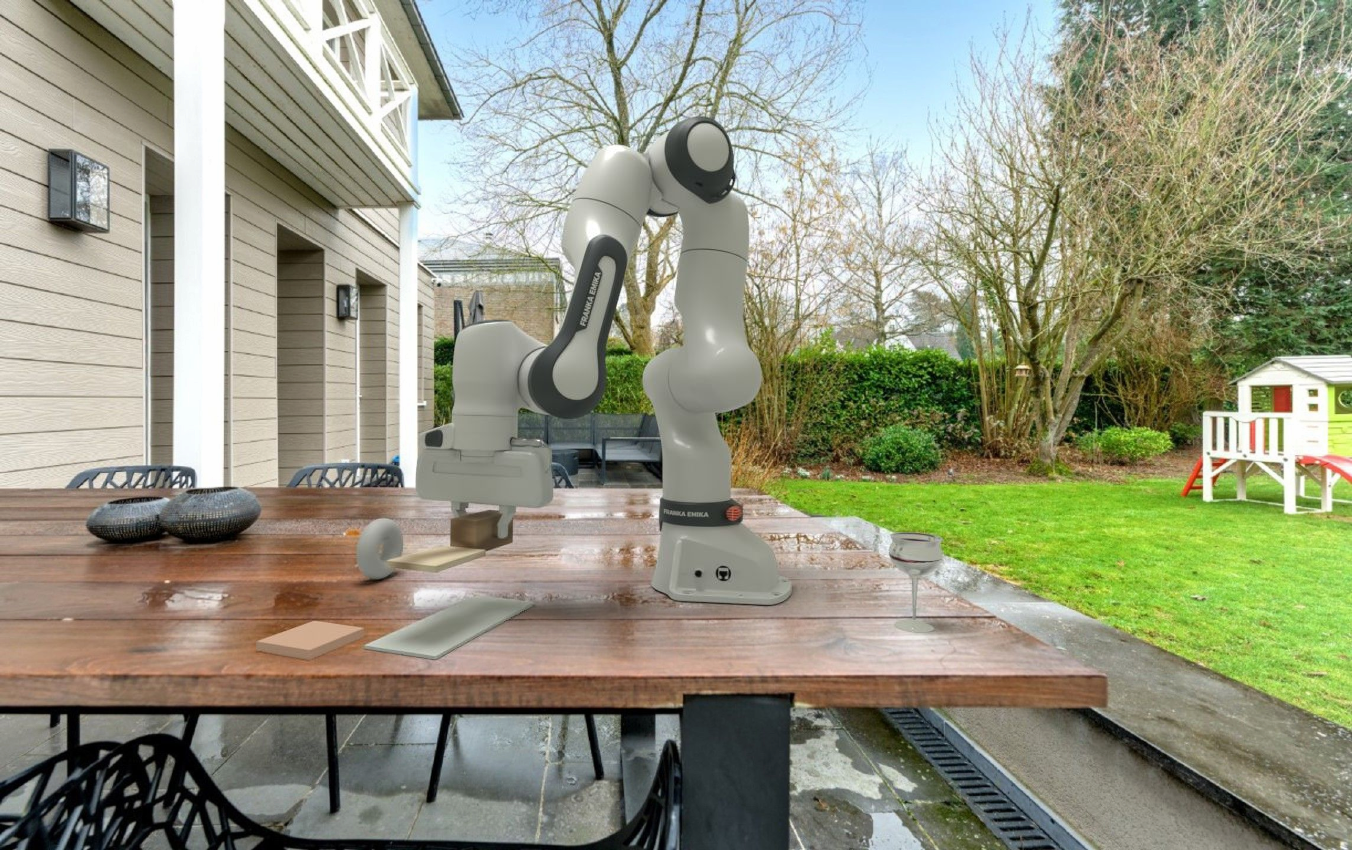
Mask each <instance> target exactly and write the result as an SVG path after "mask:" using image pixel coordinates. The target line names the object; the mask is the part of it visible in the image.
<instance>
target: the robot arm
mask: <svg viewBox="0 0 1352 850" xmlns="http://www.w3.org/2000/svg"><path fill="white" fill-rule="evenodd" d="M734 164H735V155H734V150H733V145H732V142H731V139H730V136H729V134H728V133H727V131H726V130H725V128H724V127H723V126H722V124H721V123H719V122H718V121H717V120H716V119H713V118H711V117H708V116H704V115H699V116H698V115H697V116H691V117H688V118H685V119H683V120H680V121H679V122H677V123H676V124H675V125H673V126H672V127H671V128H670V129H669V130H668V131H666V132H665V133H663V134H662V135H661V136H660V137H658V138H657V139H656V140H655V141H654V142H653V143H652V144H651V145H650V146H649V147H648V148H647V149H646V150H645V151H644V152H643V153H642V152H638V151H637V150H635V149H634V148H632V147H629V146H627V145H623V144H609V145H606V146H603V147H602V148H600V149H599V150H597V152H596V154H595V155H594V157H593V158H592V159H591V160H590V162H589V164H588V166H587V167H586V170H585V171H584V173H583V175H582V177H581V178H580V181H579V182H578V185H577V187H576V189H575V191H574V195H573V197H572V200H571V202H570V204H569V208H568V210H567V214H566V216H565V219H564V224H563V228H562V229H563V230H562V235H561V242H560V246H561V250H562V253H563V255H564V257H565V259H566V260H567V261H568V263H569V264H570V266H572V268H573V269H574V281H573V286H572V289H571V291H570V295H569V299H568V301H567V305H566V309H565V311H564V315H563V318H562V322H561V325H560V329H558V333H557V335H556V336H555V337H554V338H553V340H552V341H550V342H549V344H546V343H544V342H541V341H539V340H537V339H536V338H534V337H533V336H531V335H530V334H527V333H526V332H524V330H522V329H521V328H520V327H518V326H517V325H516V324H515V322H514V321H512V320H509V319H504V318H503V319H500V318H498V319H486V320H480V321H475V322H472V323H471V322H470V324H467V325H466V326H465V327H462V329H461V330H460V331H459V332H458V334H457V335H456V336H457V337H456V339H455V344H454V351H453V359H452V361H453V362H452V387H453V390H454V397H455V398H454V403H453V407H452V410H451V422H450V423H446V424H442V425H440V426H438V427H435V428H432V429H429V430H425V431H424V432H423V431H422V432H421V433H420V434H419V437H418V444H419V446H420V447H421V448H423V449H422V450H421V451H420V452H419V454H418V456H417V460H416V467H415V468H416V469H415V491H416V494H417V495H418V497H419V498H420V499H421V500H424V501H425V500H426V501H428V500H429V501H439V502H441V501H442V502H448V503H449V502H450V510H451V512H452V514H453V516H454V518H456V517H460V516H464V515H468V513H467V511H466V509H468V508H469V504H479V505H489V506H490V505H491V506H498V510H499V513H501V514H502V513H503V514H502V516H501V518H500V520H499V522H498V524H495V525H492V531H493V532H492V537H493V538H505V537H507V535H508V524H509V523H510V521H511V520H512V518H513V519H514V516H515V515H516V513H517V508H526V509H527V508H528V509H529V508H530V509H541V508H544V507H547V506H549V504H551V503H552V501H553V499H554V481H553V472H552V464H553V452H552V448H551V447H550V446H549V444H547V443H546V442H544V440H543V439H540V438H532V439H530V438H523V437H518V431H519V430H518V426H519V424H518V423H519V411H520V409H521V408H522V409H525V410H529V411H531V412H534V413H536V414H542V415H547V416H552V417H555V418H557V419H561V420H562V419H563V420H575V419H580V418H582V417H584V416H586V415H588V414H590V413H591V412H592V411H594V410H595V408H597V406H598V405H599V404H600V402H601V400H602V399H603V397H604V394H605V391H606V389H607V388H606V387H607V380H608V379H607V359H606V353H607V344H608V338H609V335H610V332H611V328H612V326H613V325H612V324H613V321H614V319H615V314H616V309H617V306H618V303H619V299H620V296H621V292H622V288H623V285H624V284H623V283H624V281H625V280H624V279H625V276H626V272H627V270H628V266H629V264H630V261H631V258H632V256H633V253H634V250H635V248H636V245H637V243H638V240H639V238H640V234H641V231H642V228H643V224H644V222H645V218H646V216H649V217H652V218H666V217H667V218H668V217H672V216H674V215H677V214H678V216H679V218H680V221H681V225H682V227H681V228H682V240H681V245H680V253H679V259H678V268H677V275H676V281H675V282H676V283H675V290H674V296H673V297H674V298H673V299H674V300H673V302H674V303H673V304H674V306H675V309H676V310H677V311H678V312H679V314H680V316H681V322H682V326H683V327H682V328H683V345H682V346H675V347H670V348H667V349H665V350H664V351H662V352H659V354H657V355H655V356H653V358H650V360H649V362H647V364H646V365H645V368H644V370H643V373H642V388H643V391H644V393H645V395H646V397H647V398H648V399H649V400H650V402H651V404H652V408H653V411H654V415H655V419H656V423H657V427H658V428H657V429H658V432H659V438H660V442H661V443H660V444H661V451H662V452H661V453H662V496H661V497H660V499H659V508H658V525H659V526H658V527H659V532H660V537H659V538H660V539H659V540H660V541H659V547H658V555H657V561H656V565H655V570H654V573H653V576H652V579H651V583H650V584H651V586H652V588H654V589H655V590H656V591H659V592H661V593H663V594H665V595H668V597H669V598H670V599H672V600H674V601H678V602H679V601H680V602H700V603H702V602H703V603H704V602H705V603H720V604H721V603H722V604H743V605H744V604H746V605H747V604H748V605H765V606H766V605H767V606H769V605H776V604H780V603H781V602H784V601H786V600H787V599H789V597H790V596H791V595H792V592H793V584H792V582H791V580H790V579H789V578H787V577H785V576H782V575H779V568H778V561H777V557H776V553H775V551H774V549H773V547H771V545H770V544H768V543H767V542H766V541H764V540H763V539H762V538H761V537H759V536H758V535H757V534H756V533H755V532H753V531H752V530H751V529H750V528H749V527H748V526H746V525H745V524H744V523H743V522H744V520H743V519H744V510H745V508H744V507H745V505H744V503H743V502H741V503H739V502H738V501H736V500H734V499H733V498H732V496H731V495H732V493H731V492H732V452H731V449H730V446H729V445H728V443H727V442H726V441H725V440H724V438H723V436H722V434H721V431H720V427H719V424H718V419H717V416H716V413H717V414H721V413H722V414H723V413H728V412H731V411H734V410H736V409H739V408H742V407H744V406H747V405H748V404H750V403H751V402H752V401H754V399H755V398H756V397H757V396H758V394H759V391H760V389H761V386H762V381H763V372H762V367H761V363H760V361H759V358H758V357H757V355H756V354H755V353H754V352H753V351H752V349H751V348H750V346H749V343H748V340H747V335H746V330H745V324H744V309H743V308H744V307H743V306H744V295H745V287H746V286H745V285H746V279H747V278H746V277H747V270H748V262H749V261H748V260H749V252H750V251H749V249H750V248H749V247H750V221H749V210H748V206H747V205H746V203H745V201H744V200H743V199H742V198H741V197H740V196H739V195H737V194H735V193H733V192H731V191H732V190H733V189H734V186H735V183H736V179H737V174H736V172H735V169H734V167H735V165H734ZM731 181H732V182H731ZM543 446H544V447H543Z"/></svg>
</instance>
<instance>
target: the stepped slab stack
mask: <svg viewBox="0 0 1352 850" xmlns="http://www.w3.org/2000/svg"><path fill="white" fill-rule="evenodd" d="M502 514H503V513H502ZM502 514H501V513H499V509H487V510H483V511H478V512H473V513H470V514H467V515H464V516H460V517H456V518H455V517H452V518H450V527H449V528H450V531H449V532H450V533H449V535H450V536H449V538H450V539H449V541H450V542H449V544H450V545H442V544H440V545H437V546H433V547H430V548H426V549H423V550H419V551H416V552H412V553H409V554H405V555H401V557H397V558H394V559H390V560H387V567H389V568H395V569H398V570H399V569H400V570H409V571H416V572H424V573H425V572H426V573H433V574H436V573H439V572H442V571H443V572H444V571H445V570H448V569H451V568H455V567H458V566H460V565H463V564H467V563H469V562H472V561H474V560H479V559H481V558H483V557H486V552H488V551H491V550H495V549H498V548H501V547H503V546H507V545H509V544H513V541H514V539H513V537H514V517H513V518H512V520H511V521H510V523H509V524H508V535H507V537H505V538H493V537H492V532H493V531H492V525H495V524H498V522H499V520H500V518H501V516H502Z"/></svg>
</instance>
